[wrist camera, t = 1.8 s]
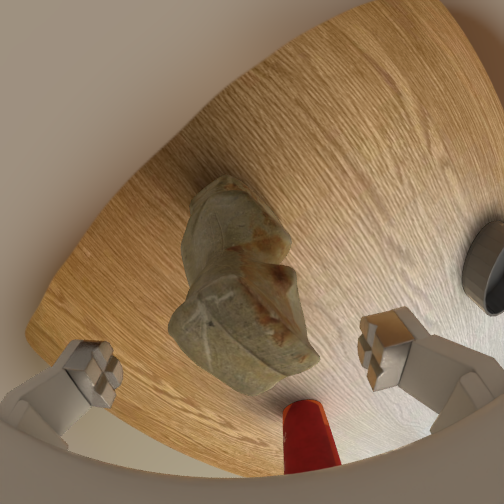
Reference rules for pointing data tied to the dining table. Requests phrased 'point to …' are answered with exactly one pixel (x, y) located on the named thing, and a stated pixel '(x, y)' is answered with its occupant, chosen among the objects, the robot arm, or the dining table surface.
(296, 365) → the sculpture
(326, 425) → the paper cup
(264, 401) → the dining table surface
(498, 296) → the grey metal round dish
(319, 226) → the dining table surface
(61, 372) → the robot arm
